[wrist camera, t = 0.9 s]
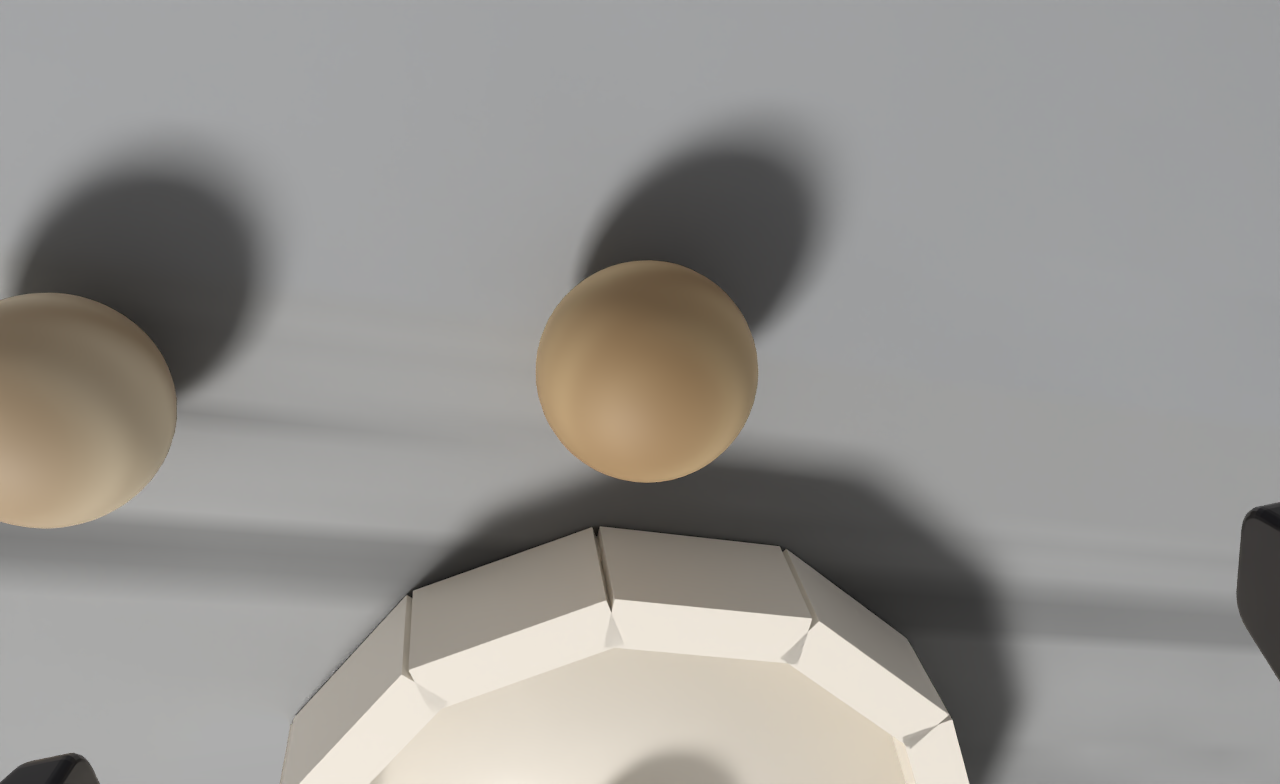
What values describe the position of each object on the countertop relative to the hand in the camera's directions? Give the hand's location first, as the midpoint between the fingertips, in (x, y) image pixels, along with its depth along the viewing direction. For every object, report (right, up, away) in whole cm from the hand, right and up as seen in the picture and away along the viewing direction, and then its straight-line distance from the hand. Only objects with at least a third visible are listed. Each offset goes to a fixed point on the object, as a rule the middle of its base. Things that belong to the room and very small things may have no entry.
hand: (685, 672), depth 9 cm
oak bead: (0, +2, +10) cm, 11 cm away
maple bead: (-9, +2, +9) cm, 13 cm away
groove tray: (-1, -7, +17) cm, 18 cm away
